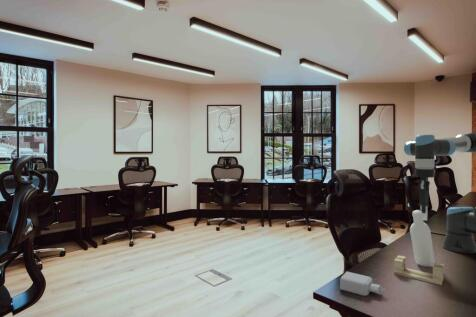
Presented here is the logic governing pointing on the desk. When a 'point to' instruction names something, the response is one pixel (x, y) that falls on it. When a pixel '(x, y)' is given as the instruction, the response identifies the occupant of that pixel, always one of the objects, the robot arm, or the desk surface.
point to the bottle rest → (424, 276)
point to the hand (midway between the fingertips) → (423, 219)
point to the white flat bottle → (359, 284)
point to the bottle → (421, 240)
